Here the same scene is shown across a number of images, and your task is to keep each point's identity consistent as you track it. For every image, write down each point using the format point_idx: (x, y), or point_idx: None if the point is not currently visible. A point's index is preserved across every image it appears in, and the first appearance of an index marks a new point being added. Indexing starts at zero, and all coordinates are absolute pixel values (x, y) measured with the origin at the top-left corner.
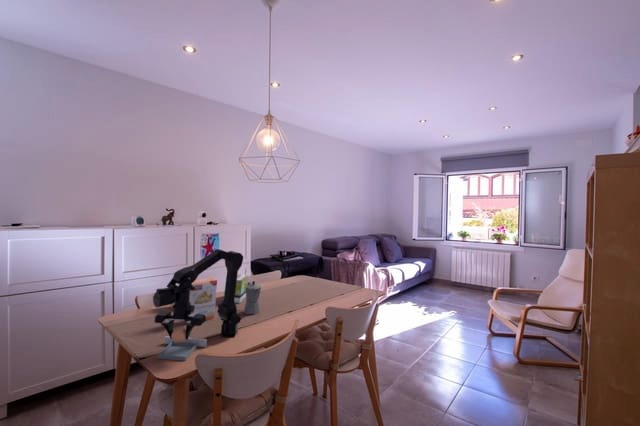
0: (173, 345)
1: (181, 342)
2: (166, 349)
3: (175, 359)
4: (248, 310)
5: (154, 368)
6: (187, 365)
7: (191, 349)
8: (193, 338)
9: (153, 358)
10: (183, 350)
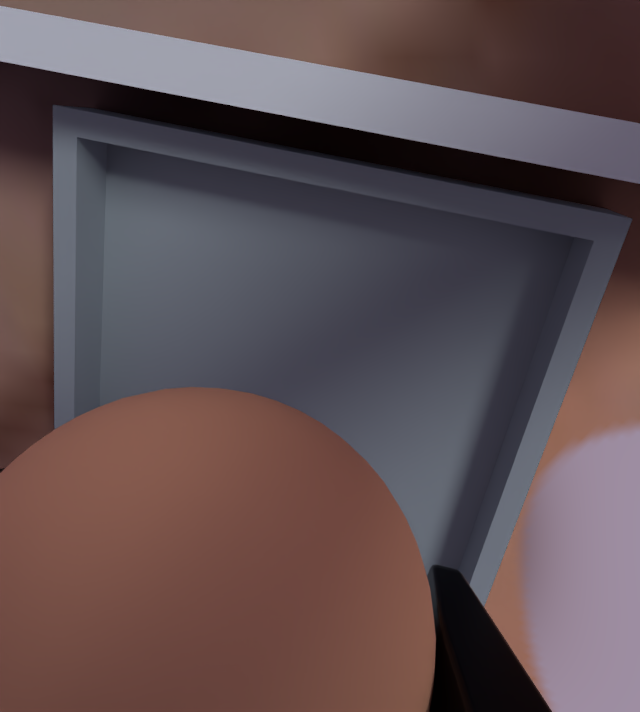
0: (134, 156)
1: (260, 148)
2: (90, 351)
3: None
4: None
5: None
6: None
7: (525, 459)
8: (541, 114)
9: None
10: (369, 359)
